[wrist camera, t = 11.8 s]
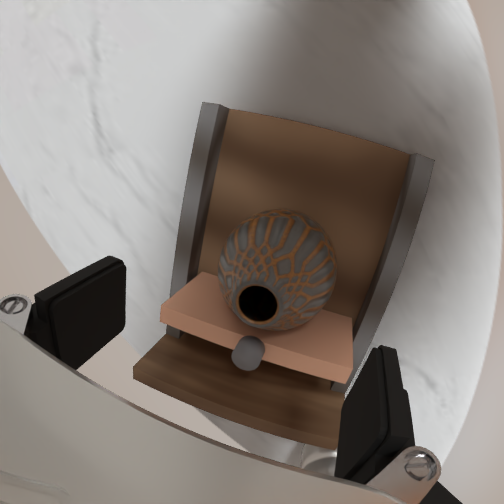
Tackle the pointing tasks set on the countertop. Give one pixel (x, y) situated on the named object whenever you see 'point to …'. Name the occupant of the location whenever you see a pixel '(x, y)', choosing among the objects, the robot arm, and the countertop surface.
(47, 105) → the countertop surface
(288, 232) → the vase
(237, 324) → the pusher plate
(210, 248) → the pusher lane
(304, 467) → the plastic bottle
